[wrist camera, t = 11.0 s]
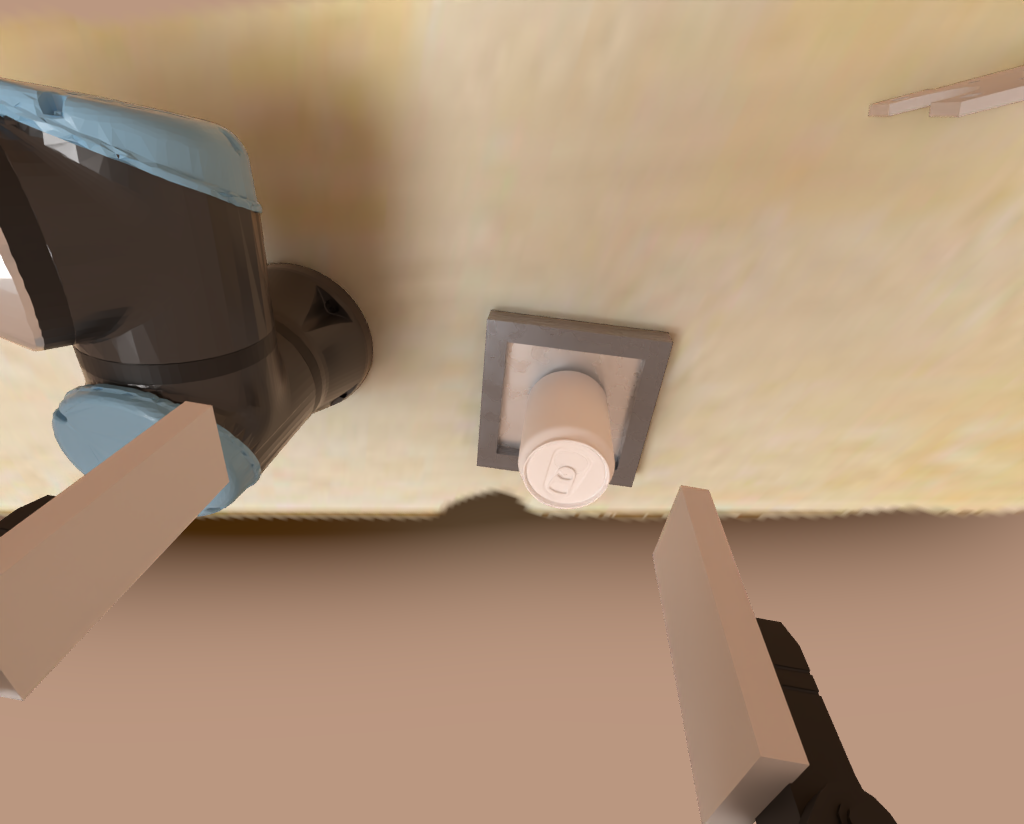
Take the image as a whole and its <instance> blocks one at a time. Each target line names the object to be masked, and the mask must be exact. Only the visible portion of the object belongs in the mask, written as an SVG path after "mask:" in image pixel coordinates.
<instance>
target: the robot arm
mask: <svg viewBox="0 0 1024 824" xmlns="http://www.w3.org/2000/svg"><path fill="white" fill-rule="evenodd" d="M260 213H262V207H261V204H259V203H258V201H257V197H256V192H255V187H254V182H253V177H252V171H251V166H250V161H249V157H248V153H247V151H246V149H245V147H244V146H243V144H242V143H241V141H240V140H239V139H238V138H237V137H236V136H235V135H234V134H233V133H232V132H231V131H229V130H228V129H226V128H224V127H222V126H220V125H218V124H215V123H212V122H209V121H205V120H201V119H197V118H193V117H189V116H185V115H181V114H176V113H172V112H168V111H163V110H159V109H154V108H150V107H145V106H140V105H136V104H131V103H126V102H122V101H117V100H113V99H108V98H103V97H99V96H94V95H89V94H84V93H79V92H74V91H69V90H65V89H60V88H55V87H50V86H44V85H39V84H33V83H27V82H21V81H16V80H11V79H6V78H2V77H0V338H3V339H5V340H8V341H10V342H12V343H15V344H17V345H20V346H22V347H25V348H27V349H30V350H32V351H42V350H47V349H52V348H58V347H63V346H68V345H73V348H74V350H75V353H76V356H77V358H78V361H79V364H80V367H81V369H82V372H83V374H84V377H85V381H86V383H85V386H78V387H77V388H75V389H73V390H71V391H69V392H68V393H67V394H66V395H65V397H64V400H62V401H61V403H60V404H59V408H58V409H56V410H55V412H54V413H53V419H52V426H53V430H54V435H55V438H56V440H57V442H58V444H59V446H60V448H61V449H62V451H63V452H64V454H65V455H66V456H67V458H68V459H69V460H70V461H71V462H72V463H73V465H74V466H75V467H76V468H77V469H78V470H80V471H81V472H82V473H83V474H84V476H83V477H82V478H80V479H79V480H78V481H76V482H75V483H73V484H72V485H71V486H69V487H68V488H67V489H65V490H64V491H63V492H61V493H60V494H58V495H57V496H51V495H47V496H45V497H42V498H40V499H38V500H36V501H34V502H31V503H29V504H27V505H25V506H23V507H20V508H18V509H16V510H15V511H14V512H12V513H11V514H9V515H8V516H7V517H5V518H4V519H2V520H1V521H0V697H6V698H11V699H17V700H22V701H23V700H25V699H26V697H27V696H28V695H29V694H30V693H31V692H32V691H33V690H34V689H35V688H36V687H37V686H38V685H39V684H40V683H41V681H42V680H43V679H44V678H45V677H46V676H47V675H48V674H49V673H50V672H51V671H52V670H53V669H54V668H55V667H56V666H57V665H58V663H59V662H60V661H61V660H62V659H63V658H64V657H65V656H66V655H67V654H68V653H69V652H70V651H71V649H73V647H74V646H75V645H76V644H77V643H78V642H79V641H80V640H81V639H82V638H83V637H84V636H85V635H86V634H87V633H88V631H89V630H90V629H91V628H92V627H93V626H94V625H95V624H96V623H97V622H98V621H99V620H100V619H101V618H102V617H103V615H104V614H105V613H106V612H107V611H108V610H109V609H110V608H111V607H112V606H113V605H114V604H115V603H116V602H117V601H118V600H119V599H120V597H121V596H122V595H123V594H124V593H125V592H126V591H127V590H128V589H129V588H130V587H131V586H132V585H133V584H134V583H135V582H136V580H137V579H138V578H139V577H140V576H141V575H142V574H143V573H144V572H145V571H146V570H147V569H148V568H149V567H150V566H151V565H152V563H153V562H154V561H155V560H156V559H157V558H158V557H159V556H160V555H161V554H162V553H163V552H164V551H165V550H166V549H167V547H168V546H169V545H170V544H171V543H172V542H173V541H174V540H175V539H176V538H177V537H178V536H179V535H180V534H181V533H182V532H183V530H184V529H185V528H186V527H187V526H188V525H189V524H190V523H191V522H192V521H193V520H194V519H195V518H196V517H197V516H205V515H209V514H213V513H216V512H218V511H220V510H222V509H223V508H226V507H227V506H229V505H230V504H231V503H233V502H234V501H235V500H236V499H237V498H238V497H239V496H240V495H241V494H242V493H243V492H244V491H245V490H246V489H247V488H248V487H250V486H252V485H254V484H255V483H256V482H257V481H258V480H259V478H260V475H261V473H262V472H263V471H264V470H265V469H266V467H267V466H268V465H269V464H270V463H271V461H272V460H273V459H274V458H275V457H276V456H277V454H278V453H279V452H280V451H281V450H282V448H283V447H284V446H285V445H286V444H287V442H288V441H289V440H290V439H291V438H292V437H293V435H294V434H295V433H296V432H297V431H298V430H299V428H300V427H301V426H302V425H303V424H304V423H305V421H306V420H307V419H308V418H309V417H310V416H311V414H313V413H315V412H318V411H320V410H323V409H325V408H328V407H330V406H332V405H335V404H337V403H339V402H341V401H343V400H344V399H346V398H347V397H349V396H350V395H351V394H352V393H353V392H354V391H355V390H356V389H357V388H358V387H359V385H360V384H361V383H362V382H363V380H364V379H365V377H366V376H367V374H368V371H369V369H370V366H371V362H372V355H373V346H372V338H371V334H370V330H369V327H368V324H367V322H366V320H365V318H364V316H363V314H362V312H361V310H360V309H359V307H358V306H357V304H356V303H355V302H354V300H353V299H352V298H351V297H350V296H349V295H348V294H347V293H346V292H345V291H344V290H343V289H342V288H341V287H340V286H339V285H338V284H336V283H335V282H334V281H332V280H331V279H329V278H328V277H326V276H324V275H323V274H321V273H319V272H317V271H314V270H312V269H309V268H306V267H303V266H299V265H294V264H286V263H278V264H270V265H267V262H266V254H265V247H264V239H263V232H262V224H261V217H260ZM653 560H654V566H655V571H656V577H657V582H658V587H659V593H660V598H661V604H662V609H663V615H664V620H665V626H666V630H667V637H668V642H669V648H670V653H671V658H672V664H673V669H674V674H675V680H676V686H677V690H678V697H679V702H680V707H681V713H682V718H683V724H684V729H685V735H686V740H687V745H688V751H689V756H690V762H691V767H692V772H693V778H694V784H695V789H696V794H697V800H698V806H699V811H700V817H701V822H702V824H753V823H754V822H755V821H756V824H897V823H896V822H895V820H894V819H893V817H892V816H891V814H890V813H889V812H888V811H887V810H886V809H885V808H884V807H883V806H882V805H881V804H880V803H879V802H878V801H877V800H876V799H875V798H874V797H873V796H871V795H869V794H868V793H867V792H865V791H864V790H863V789H862V787H861V785H860V784H859V782H858V780H857V778H856V776H855V774H854V772H853V769H852V767H851V765H850V762H849V760H848V758H847V755H846V753H845V751H844V748H843V746H842V744H841V741H840V739H839V737H838V734H837V732H836V730H835V727H834V725H833V723H832V720H831V718H830V716H829V714H828V711H827V709H826V706H825V704H824V702H823V699H822V697H821V696H819V694H818V692H819V690H818V688H817V685H816V683H815V681H814V679H813V676H812V675H810V673H809V672H810V669H809V667H808V664H807V662H806V660H805V657H804V655H803V653H802V650H801V648H800V646H799V645H798V643H797V642H796V641H795V639H794V638H793V637H792V636H791V634H790V633H789V632H788V631H787V629H786V628H785V627H784V626H783V624H782V623H781V622H777V621H771V620H765V619H760V618H756V617H755V615H754V612H753V609H752V607H751V604H750V601H749V598H748V596H747V593H746V590H745V588H744V585H743V582H742V579H741V577H740V574H739V571H738V568H737V566H736V563H735V560H734V557H733V555H732V552H731V549H730V546H729V544H728V541H727V538H726V536H725V533H724V530H723V527H722V525H721V522H720V519H719V516H718V514H717V511H716V508H715V505H714V503H713V500H712V497H711V494H710V492H709V490H706V489H700V488H694V487H688V486H682V485H681V486H680V489H679V491H678V494H677V496H676V499H675V501H674V504H673V506H672V508H671V511H670V513H669V516H668V518H667V521H666V523H665V526H664V528H663V531H662V533H661V536H660V538H659V541H658V543H657V546H656V548H655V550H654V553H653Z"/></svg>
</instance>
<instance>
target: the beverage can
mask: <svg viewBox="0 0 1024 824" xmlns="http://www.w3.org/2000/svg"><path fill="white" fill-rule="evenodd" d="M518 468H519V472H520V475H521V478H522V480H523V482H524V484H525V486H526V488H527V490H528V491H529V493H530V494H531V495H532V496H533V497H534V498H536V499H537V500H538V501H540V502H542V503H543V504H546V505H548V506H551V507H555V508H560V509H574V508H580V507H583V506H586V505H589V504H591V503H592V502H594V501H596V500H597V499H598V498H599V497H600V496H601V495H602V494H603V493H604V492H605V490H606V489H607V487H608V484H609V483H610V481H611V479H612V476H613V473H614V468H615V460H614V452H613V444H612V436H611V428H610V420H609V412H608V404H607V398H606V395H605V392H604V391H603V389H602V387H601V386H600V385H599V384H598V383H597V382H596V381H595V380H594V379H593V378H591V377H590V376H588V375H586V374H583V373H580V372H576V371H558V372H554V373H551V374H548V375H546V376H545V377H543V378H541V379H540V380H539V381H538V382H537V383H536V384H535V385H534V386H533V388H532V389H531V391H530V393H529V395H528V399H527V405H526V412H525V418H524V425H523V431H522V438H521V444H520V450H519V457H518Z"/></svg>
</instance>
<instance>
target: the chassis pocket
mask: <svg viewBox="0 0 1024 824" xmlns="http://www.w3.org/2000/svg"><path fill="white" fill-rule="evenodd" d="M672 345H673V342H672V339H671V337H670V335H669V333H668V332H661V331H653V330H645V329H637V328H629V327H621V326H613V325H605V324H597V323H589V322H581V321H573V320H565V319H558V318H550V317H542V316H534V315H526V314H518V313H510V312H502V311H494V310H491V311H490V314H489V316H488V319H487V330H486V344H485V358H484V372H483V387H482V401H481V415H480V429H479V443H478V457H477V466H483V467H490V468H497V469H504V470H511V471H519V468H518V457H519V450H520V444H521V438H522V431H523V425H524V418H525V412H526V405H527V399H528V395H529V393H530V391H531V389H532V388H533V386H534V385H535V384H536V383H537V382H538V381H539V380H540V379H541V378H543V377H545V376H546V375H548V374H551V373H554V372H558V371H576V372H580V373H583V374H586V375H588V376H590V377H591V378H593V379H594V380H595V381H596V382H597V383H598V384H599V385H600V386H601V387H602V389H603V391H604V392H605V395H606V398H607V404H608V412H609V420H610V428H611V436H612V444H613V452H614V460H615V468H614V473H613V476H612V479H611V481H610V483H609V484H612V485H620V486H627V487H632V484H633V480H634V477H635V474H636V470H637V467H638V463H639V460H640V456H641V453H642V449H643V446H644V442H645V439H646V435H647V432H648V428H649V425H650V421H651V418H652V414H653V411H654V408H655V404H656V401H657V397H658V394H659V390H660V387H661V383H662V380H663V376H664V373H665V369H666V366H667V362H668V359H669V355H670V352H671V348H672Z"/></svg>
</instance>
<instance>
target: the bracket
mask: <svg viewBox="0 0 1024 824" xmlns="http://www.w3.org/2000/svg"><path fill="white" fill-rule="evenodd" d="M1020 101H1024V65H1023V66H1019V67H1016V68H1012V69H1008V70H1004V71H1001V72H997V73H993V74H989V75H985V76H982V77H978V78H974V79H970V80H967V81H963V82H959V83H955V84H952V85H948V86H944V87H940V88H937V89H926V90H923V91H919V92H915V93H911V94H908V95H904V96H900V97H896V98H893V99H889V100H885V101H881V102H878V103H874V104H870V105H869V115H868V116H892V115H896V114H900V113H903V112H907V111H911V110H915V109H919V108H924V107H928V106H930V113H929V117H961V116H965V115H969V114H973V113H977V112H980V111H984V110H988V109H992V108H996V107H1000V106H1004V105H1008V104H1012V103H1016V102H1020Z"/></svg>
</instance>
